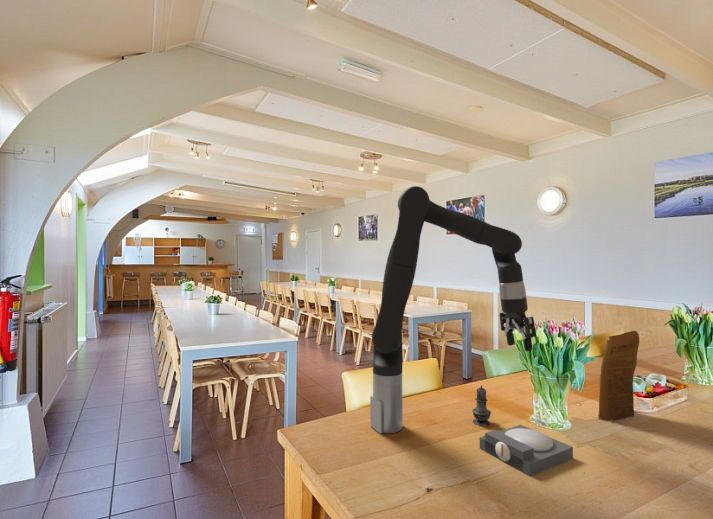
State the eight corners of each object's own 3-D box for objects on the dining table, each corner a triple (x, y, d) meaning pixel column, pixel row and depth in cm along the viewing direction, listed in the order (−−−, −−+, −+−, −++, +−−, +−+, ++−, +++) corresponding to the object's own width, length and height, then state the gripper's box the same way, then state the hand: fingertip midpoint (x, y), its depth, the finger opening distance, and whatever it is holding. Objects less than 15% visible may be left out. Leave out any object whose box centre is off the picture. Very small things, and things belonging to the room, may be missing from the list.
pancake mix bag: (648, 415, 129) (647, 331, 129) (608, 425, 122) (608, 336, 122) (627, 408, 136) (627, 328, 136) (589, 417, 129) (588, 332, 129)
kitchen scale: (529, 476, 94) (528, 456, 94) (478, 448, 108) (478, 430, 108) (572, 458, 102) (572, 439, 102) (520, 434, 116) (520, 417, 116)
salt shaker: (492, 427, 121) (492, 388, 121) (472, 425, 123) (472, 387, 123) (489, 419, 127) (489, 382, 127) (471, 418, 128) (471, 381, 128)
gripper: (489, 296, 127) (495, 345, 127) (516, 300, 113) (523, 355, 113) (509, 292, 129) (516, 341, 129) (538, 296, 115) (546, 350, 115)
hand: (519, 347), depth 121 cm, fingers open, 8 cm apart
